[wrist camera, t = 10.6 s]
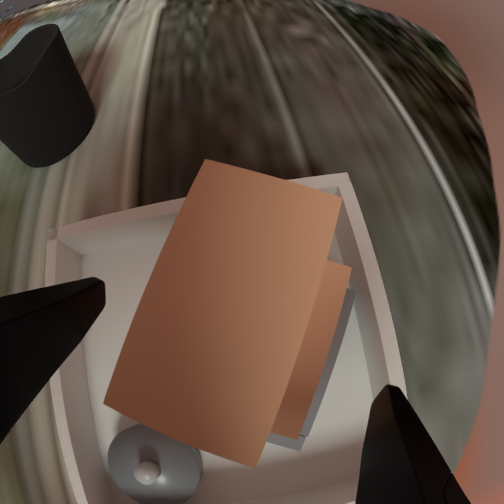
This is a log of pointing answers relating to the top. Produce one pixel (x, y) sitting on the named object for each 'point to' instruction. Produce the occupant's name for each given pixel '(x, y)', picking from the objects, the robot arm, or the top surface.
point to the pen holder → (42, 99)
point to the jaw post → (234, 315)
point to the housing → (183, 455)
